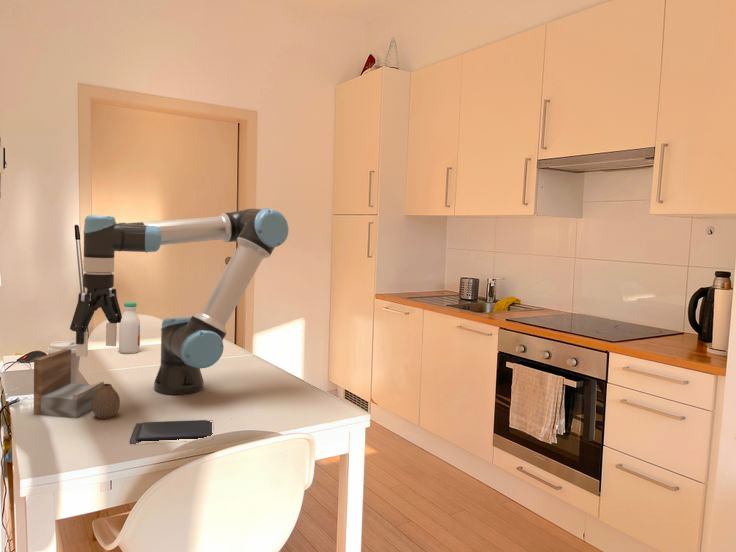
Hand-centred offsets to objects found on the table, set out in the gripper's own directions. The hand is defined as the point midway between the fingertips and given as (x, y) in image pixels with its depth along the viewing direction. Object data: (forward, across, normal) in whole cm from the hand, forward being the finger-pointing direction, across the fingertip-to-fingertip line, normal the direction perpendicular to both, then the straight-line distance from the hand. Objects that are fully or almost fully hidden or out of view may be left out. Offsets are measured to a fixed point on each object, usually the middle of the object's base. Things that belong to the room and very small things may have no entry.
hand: (97, 350), depth 155 cm
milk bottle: (+18, -70, -29) cm, 77 cm away
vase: (+18, +1, +4) cm, 18 cm away
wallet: (+18, +7, +26) cm, 33 cm away
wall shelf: (+18, -2, -8) cm, 19 cm away
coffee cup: (+18, -15, -19) cm, 30 cm away
